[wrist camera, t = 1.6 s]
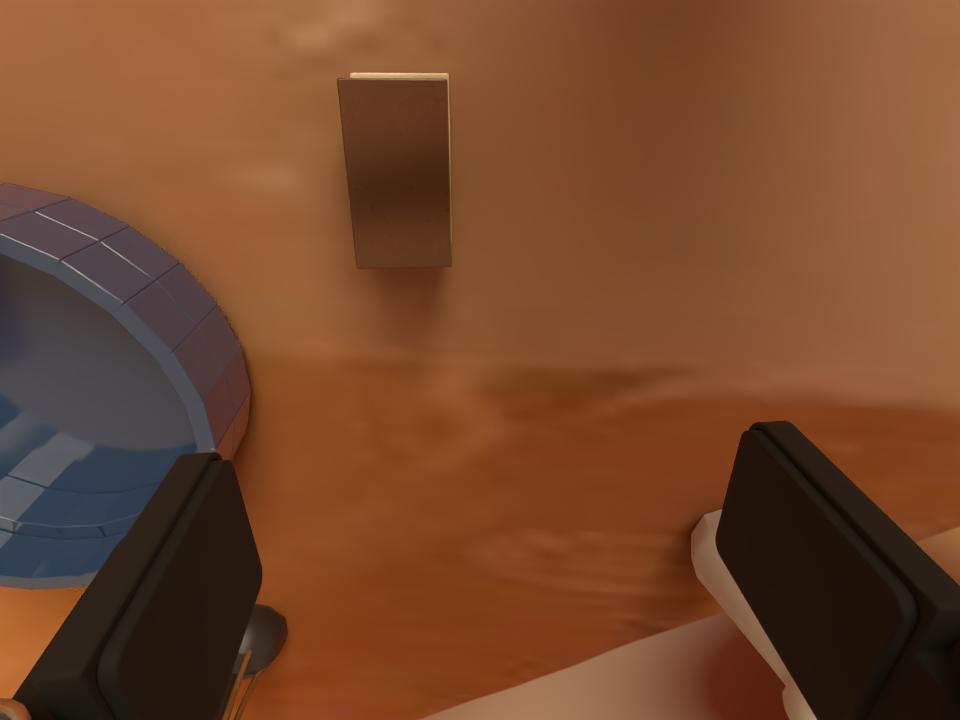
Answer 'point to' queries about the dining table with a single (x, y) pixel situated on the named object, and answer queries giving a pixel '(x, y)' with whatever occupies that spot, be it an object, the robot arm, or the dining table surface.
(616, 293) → the dining table surface
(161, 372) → the bowl
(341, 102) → the eraser
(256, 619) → the wooden tabletop sculpture
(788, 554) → the robot arm
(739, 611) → the salt shaker
